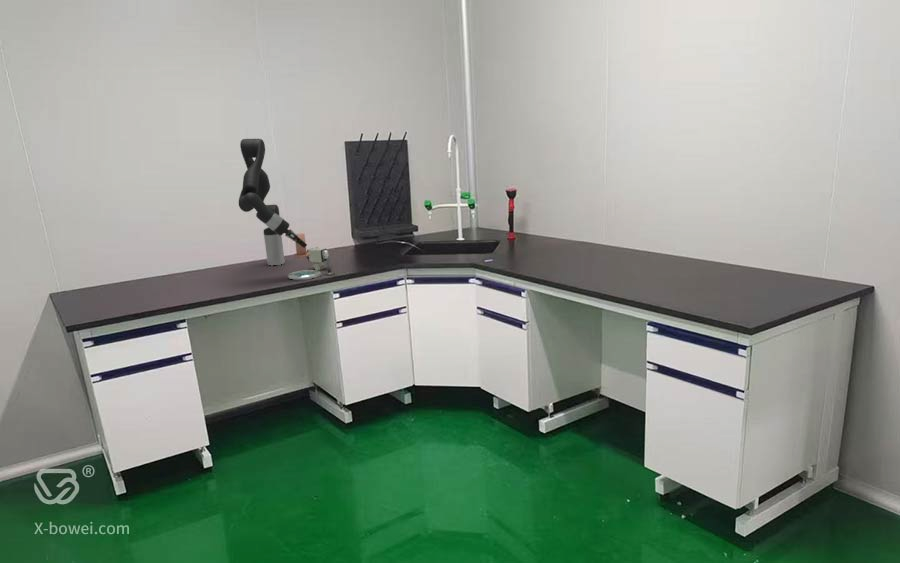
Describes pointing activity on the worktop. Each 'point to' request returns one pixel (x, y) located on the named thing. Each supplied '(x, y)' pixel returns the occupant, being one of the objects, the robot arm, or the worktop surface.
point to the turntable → (304, 274)
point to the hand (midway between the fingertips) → (304, 245)
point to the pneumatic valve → (316, 257)
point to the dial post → (327, 256)
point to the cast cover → (301, 248)
